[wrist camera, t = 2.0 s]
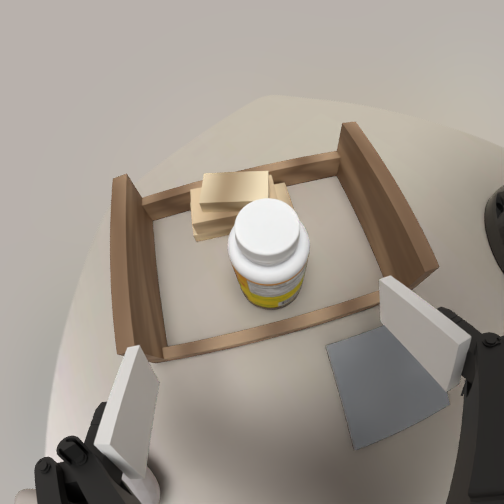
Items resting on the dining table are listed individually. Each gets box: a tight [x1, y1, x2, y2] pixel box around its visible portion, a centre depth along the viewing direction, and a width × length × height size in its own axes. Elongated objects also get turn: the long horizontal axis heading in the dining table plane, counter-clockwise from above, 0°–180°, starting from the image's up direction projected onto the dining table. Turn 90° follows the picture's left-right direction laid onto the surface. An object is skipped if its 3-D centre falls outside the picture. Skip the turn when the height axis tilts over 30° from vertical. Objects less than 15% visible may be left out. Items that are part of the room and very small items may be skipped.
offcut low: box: [190, 183, 294, 242], centre depth 30 cm, size 10×4×2 cm, turn 101°
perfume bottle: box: [15, 467, 160, 504], centre depth 13 cm, size 8×10×12 cm
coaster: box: [326, 325, 450, 450], centre depth 21 cm, size 10×10×1 cm
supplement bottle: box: [228, 198, 310, 309], centre depth 22 cm, size 6×6×10 cm
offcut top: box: [199, 171, 269, 212], centre depth 26 cm, size 6×3×2 cm, turn 88°
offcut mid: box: [190, 175, 278, 234], centre depth 28 cm, size 8×4×2 cm, turn 99°
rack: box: [110, 122, 439, 363], centre depth 25 cm, size 24×16×7 cm, turn 104°
